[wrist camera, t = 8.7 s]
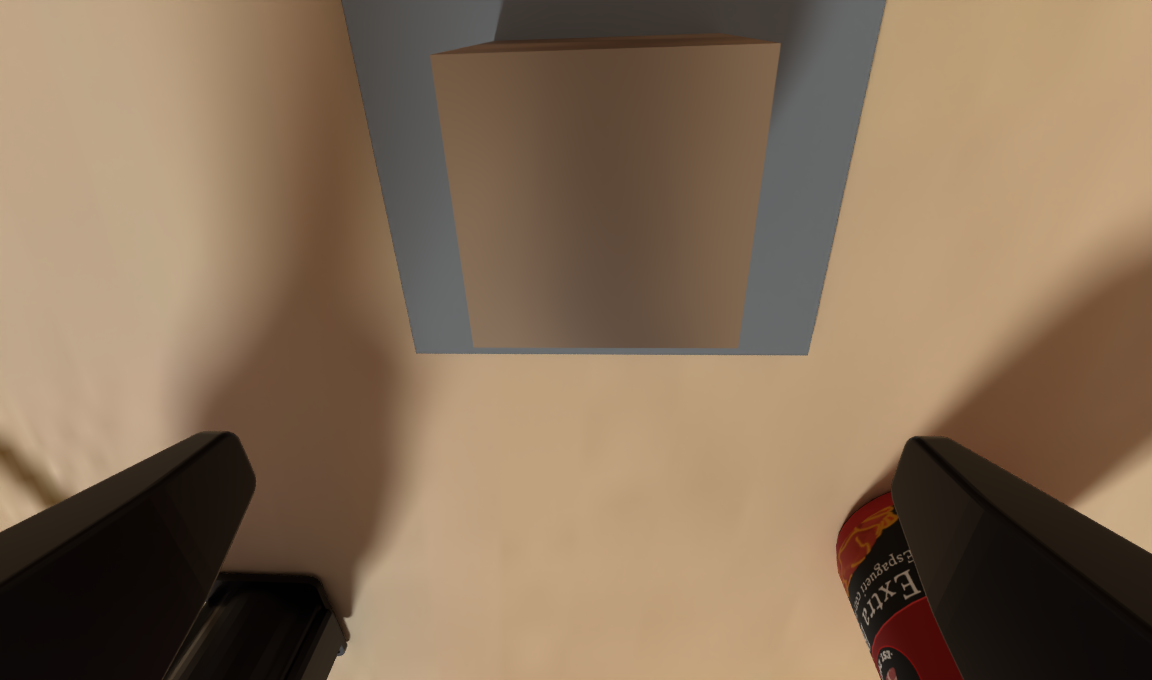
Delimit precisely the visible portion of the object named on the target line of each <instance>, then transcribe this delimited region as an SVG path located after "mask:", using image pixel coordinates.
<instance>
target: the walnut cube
mask: <svg viewBox="0 0 1152 680" xmlns="http://www.w3.org/2000/svg"><path fill="white" fill-rule="evenodd" d="M780 47H781V43H777V42H771V41H765V40H759V39H753V38H747V37H741V36H735V35H729V34H723V33H707V34H678V35H649V36H620V37H591V38H563V39H534V40H505V41H491V42H486V43H482V44H477V45H473V46H468V47H463V48H459V49H454V50H450V51H445V52H440V53H436V54H431V55H430V59H431V66H432V72H433V79H434V86H435V92H436V99H437V106H438V112H439V119H440V126H441V132H442V139H443V146H444V153H445V159H446V166H447V173H448V179H449V186H450V193H451V199H452V206H453V213H454V219H455V226H456V233H457V239H458V246H459V253H460V260H461V266H462V273H463V280H464V286H465V293H466V300H467V306H468V313H469V320H470V326H471V333H472V340H473V346H474V348H738V346H739V339H740V332H741V325H742V317H743V310H744V303H745V296H746V289H747V282H748V275H749V268H750V260H751V253H752V246H753V239H754V232H755V225H756V218H757V211H758V203H759V196H760V189H761V182H762V175H763V168H764V161H765V154H766V146H767V139H768V132H769V125H770V118H771V111H772V104H773V97H774V89H775V82H776V75H777V68H778V61H779V54H780Z"/></svg>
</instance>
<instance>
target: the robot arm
mask: <svg viewBox="0 0 1152 680" xmlns="http://www.w3.org/2000/svg"><path fill="white" fill-rule="evenodd" d="M255 486H256V477H255V473H254V471H253V468H252V466H251V464H250V462H249V459H248V457H247V455H246V453H245V450H244V448H243V446H242V444H241V441H240V439H239V438H238V437H237V436H236V435H235V434H234V433H232V432H228V431H205V432H200V433H197V434H195V435H193V436H191V437H189V438H187V439H185V440H183V441H181V442H179V443H177V444H175V445H173V446H171V447H169V448H167V449H165V450H163V451H161V452H159V453H157V454H155V455H153V456H151V457H149V458H147V459H145V460H143V461H141V462H139V463H137V464H135V465H133V466H131V467H129V468H127V469H125V470H123V471H121V472H119V473H117V474H115V475H113V476H111V477H109V478H107V479H105V480H103V481H101V482H99V483H97V484H95V485H93V486H91V487H89V488H87V489H85V490H83V491H81V492H79V493H77V494H75V495H73V496H71V497H70V498H68V499H66V500H64V501H62V502H60V503H58V504H56V505H54V506H52V507H50V508H48V509H46V510H44V511H42V512H40V513H38V514H36V515H34V516H32V517H30V518H28V519H26V520H24V521H22V522H20V523H18V524H16V525H14V526H12V527H10V528H8V529H6V530H4V531H2V532H0V680H327V677H328V675H329V673H330V670H331V668H332V666H333V664H334V661H335V659H336V657H337V656H341V655H343V654H344V653H345V651H346V648H347V643H346V640H345V638H344V636H343V633H342V631H341V628H340V626H339V624H338V621H337V619H336V617H335V614H334V612H333V610H332V607H331V605H330V603H329V600H328V598H327V595H326V593H325V591H324V588H323V586H322V584H321V582H320V581H319V580H318V579H317V578H314V577H310V576H284V575H254V574H223V573H219V572H220V569H221V567H222V565H223V563H224V560H225V558H226V556H227V553H228V551H229V549H230V547H231V544H232V542H233V540H234V537H235V535H236V533H237V531H238V528H239V526H240V524H241V521H242V519H243V517H244V515H245V512H246V510H247V508H248V505H249V503H250V501H251V499H252V496H253V494H254V491H255ZM891 494H892V500H893V503H894V506H895V509H896V512H897V515H898V518H899V520H900V523H901V526H902V529H903V532H904V535H905V538H906V540H907V543H908V546H909V549H910V552H911V555H912V558H913V560H914V563H915V566H916V569H917V572H918V575H919V577H920V580H921V583H922V586H923V589H924V592H925V595H926V597H927V600H928V602H929V605H930V608H931V610H932V613H933V615H934V618H935V620H936V622H937V624H938V627H939V629H940V631H941V633H942V636H943V638H944V640H945V642H946V644H947V646H948V648H949V650H950V653H951V655H952V657H953V659H954V661H955V663H956V665H957V667H958V670H959V672H960V674H961V676H962V678H963V680H1152V554H1151V553H1150V552H1148V551H1146V550H1144V549H1143V548H1141V547H1139V546H1137V545H1135V544H1134V543H1132V542H1130V541H1128V540H1127V539H1125V538H1123V537H1121V536H1120V535H1118V534H1116V533H1114V532H1113V531H1111V530H1109V529H1107V528H1106V527H1104V526H1102V525H1100V524H1099V523H1097V522H1095V521H1093V520H1092V519H1090V518H1088V517H1086V516H1085V515H1083V514H1081V513H1079V512H1078V511H1076V510H1074V509H1072V508H1071V507H1069V506H1067V505H1065V504H1064V503H1062V502H1060V501H1058V500H1057V499H1055V498H1053V497H1051V496H1050V495H1048V494H1046V493H1044V492H1043V491H1041V490H1039V489H1037V488H1036V487H1034V486H1032V485H1030V484H1029V483H1027V482H1025V481H1023V480H1022V479H1020V478H1018V477H1016V476H1015V475H1013V474H1011V473H1009V472H1008V471H1006V470H1004V469H1002V468H1001V467H999V466H997V465H995V464H994V463H992V462H990V461H988V460H987V459H985V458H983V457H981V456H980V455H978V454H976V453H974V452H973V451H971V450H969V449H967V448H966V447H964V446H962V445H960V444H959V443H957V442H955V441H953V440H952V439H950V438H947V437H943V436H915V437H912V438H910V439H909V440H908V441H907V442H906V444H905V446H904V449H903V452H902V455H901V458H900V460H899V463H898V466H897V469H896V472H895V475H894V478H893V480H892V486H891ZM205 601H206V603H205ZM204 603H205V605H204ZM203 605H204V606H203ZM202 607H203V608H202Z"/></svg>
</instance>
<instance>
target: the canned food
mask: <svg viewBox="0 0 1152 680" xmlns="http://www.w3.org/2000/svg"><path fill="white" fill-rule="evenodd" d="M836 553H837V567H838V573H839V576H840V578H841V581H842V583H843V586H844V588H845V591H846V593H847V596H848V598H849V601H850V603H851V606H852V608H853V611H854V613H855V616H856V618H857V621H858V623H859V626H860V628H861V631H862V633H863V636H864V638H865V641H866V643H867V646H868V648H869V651H870V653H871V656H872V658H873V661H874V663H875V666H876V668H877V671H878V673H879V676H880V678H881V680H963V678H962V676H961V674H960V672H959V670H958V667H957V665H956V663H955V661H954V659H953V657H952V655H951V653H950V650H949V648H948V646H947V644H946V642H945V640H944V638H943V636H942V633H941V631H940V629H939V627H938V624H937V622H936V620H935V618H934V615H933V613H932V610H931V608H930V605H929V602H928V600H927V597H926V595H925V592H924V589H923V586H922V583H921V580H920V577H919V575H918V572H917V569H916V566H915V563H914V560H913V558H912V555H911V552H910V549H909V546H908V543H907V540H906V538H905V535H904V532H903V529H902V526H901V523H900V520H899V518H898V515H897V512H896V509H895V506H894V503H893V500H892V494H891V492H889V493H887V494H884V495H882V496H879V497H878V498H876V499H874V500H872V501H871V502H869V503H867V504H866V505H864V506H863V507H862V508H860V509H859V510H858V511H857V512H855V513H854V514H853V515H852V516H851V517H850V518H849V520H848V521H847V522H846V523H845V524H844V526H843V528H842V529H841V531H840V533H839V535H838V540H837V544H836Z"/></svg>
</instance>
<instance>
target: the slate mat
mask: <svg viewBox="0 0 1152 680" xmlns="http://www.w3.org/2000/svg"><path fill="white" fill-rule="evenodd" d="M341 1H342V5H343V10H344V15H345V20H346V24H347V29H348V34H349V38H350V43H351V48H352V53H353V57H354V62H355V67H356V72H357V76H358V81H359V86H360V90H361V95H362V100H363V105H364V109H365V114H366V119H367V123H368V128H369V133H370V138H371V142H372V147H373V152H374V156H375V161H376V166H377V171H378V175H379V180H380V185H381V189H382V194H383V199H384V204H385V208H386V213H387V218H388V222H389V227H390V232H391V237H392V241H393V246H394V251H395V255H396V260H397V265H398V270H399V274H400V279H401V284H402V288H403V293H404V298H405V303H406V307H407V312H408V317H409V322H410V326H411V331H412V336H413V340H414V345H415V350H416V353H434V354H637V355H808V352H809V347H810V343H811V338H812V334H813V329H814V325H815V320H816V316H817V311H818V306H819V302H820V297H821V293H822V288H823V284H824V279H825V275H826V270H827V266H828V261H829V257H830V252H831V247H832V243H833V238H834V234H835V229H836V225H837V220H838V216H839V211H840V207H841V202H842V198H843V193H844V188H845V184H846V179H847V175H848V170H849V166H850V161H851V157H852V152H853V148H854V143H855V138H856V134H857V129H858V125H859V120H860V116H861V111H862V107H863V102H864V98H865V93H866V89H867V84H868V79H869V75H870V70H871V66H872V61H873V57H874V52H875V48H876V43H877V39H878V34H879V30H880V25H881V20H882V16H883V11H884V7H885V2H886V0H341ZM707 33H723V34H729V35H735V36H741V37H747V38H753V39H759V40H765V41H771V42H777V43H781V47H780V54H779V61H778V68H777V75H776V82H775V89H774V97H773V104H772V111H771V118H770V125H769V132H768V139H767V146H766V154H765V161H764V168H763V175H762V182H761V189H760V196H759V203H758V211H757V218H756V225H755V232H754V239H753V246H752V253H751V260H750V268H749V275H748V282H747V289H746V296H745V303H744V310H743V317H742V325H741V332H740V339H739V346H738V348H474V346H473V340H472V333H471V326H470V320H469V313H468V306H467V300H466V293H465V286H464V280H463V273H462V266H461V260H460V253H459V246H458V239H457V233H456V226H455V219H454V213H453V206H452V199H451V193H450V186H449V179H448V173H447V166H446V159H445V153H444V146H443V139H442V132H441V126H440V119H439V112H438V106H437V99H436V92H435V86H434V79H433V72H432V66H431V59H430V55H431V54H436V53H440V52H445V51H450V50H454V49H459V48H463V47H468V46H473V45H477V44H482V43H486V42H491V41H505V40H534V39H563V38H591V37H620V36H649V35H678V34H707Z"/></svg>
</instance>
